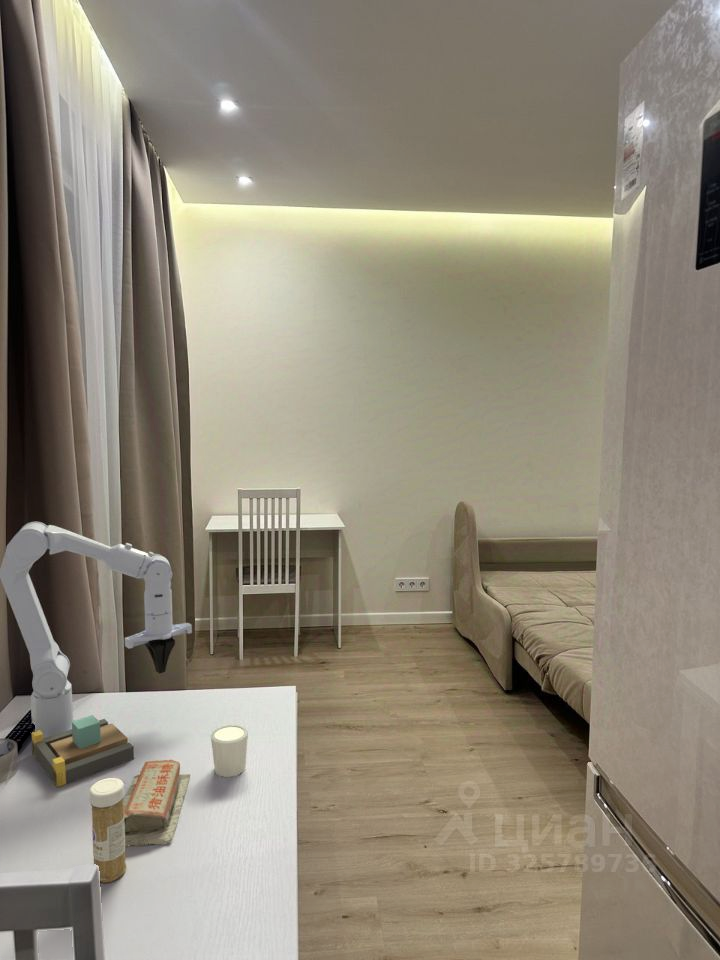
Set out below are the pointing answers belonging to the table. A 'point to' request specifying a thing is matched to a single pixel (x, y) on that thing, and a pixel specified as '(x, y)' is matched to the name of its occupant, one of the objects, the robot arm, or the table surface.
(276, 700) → the table surface
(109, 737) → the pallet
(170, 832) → the packaged product
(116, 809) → the sprinkles bottle
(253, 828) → the table surface
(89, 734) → the block
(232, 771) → the white cup
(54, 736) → the dock
